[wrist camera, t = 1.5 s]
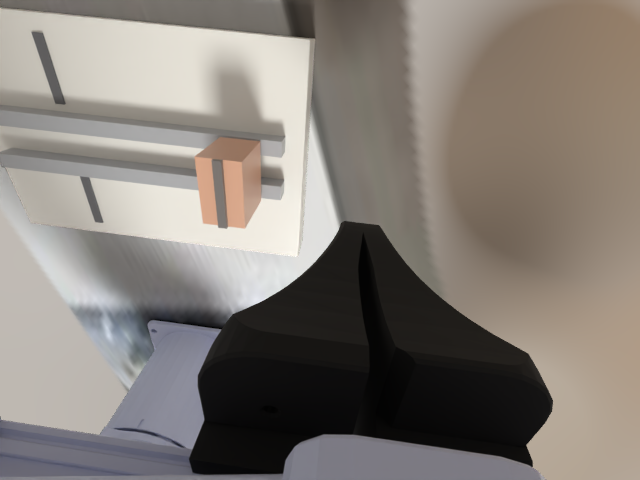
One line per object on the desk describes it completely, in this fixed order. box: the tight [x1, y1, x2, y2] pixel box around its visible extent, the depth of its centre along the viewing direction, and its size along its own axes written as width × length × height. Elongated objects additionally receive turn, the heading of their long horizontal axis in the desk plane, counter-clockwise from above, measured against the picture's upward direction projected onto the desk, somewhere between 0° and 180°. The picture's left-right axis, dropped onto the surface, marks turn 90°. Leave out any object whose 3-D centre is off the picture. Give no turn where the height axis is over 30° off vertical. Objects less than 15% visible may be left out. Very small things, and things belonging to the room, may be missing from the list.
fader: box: [194, 137, 261, 229], centre depth 16 cm, size 3×2×4 cm, turn 176°
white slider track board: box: [0, 7, 315, 257], centre depth 19 cm, size 12×18×3 cm, turn 86°
